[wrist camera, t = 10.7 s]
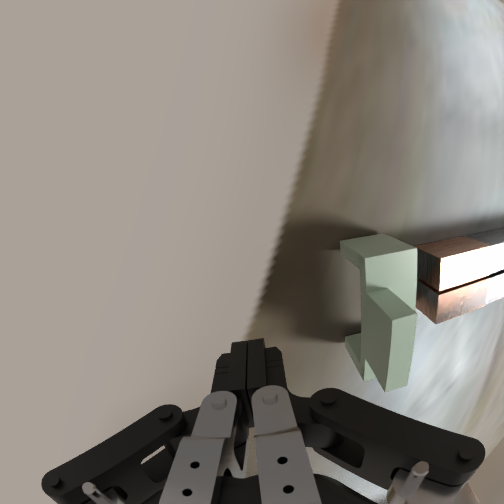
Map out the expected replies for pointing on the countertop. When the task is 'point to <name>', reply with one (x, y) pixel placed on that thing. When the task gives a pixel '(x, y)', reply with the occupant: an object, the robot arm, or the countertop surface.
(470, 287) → the tong arm
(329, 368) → the countertop surface
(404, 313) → the collar
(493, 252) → the tongs fixed
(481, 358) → the countertop surface
